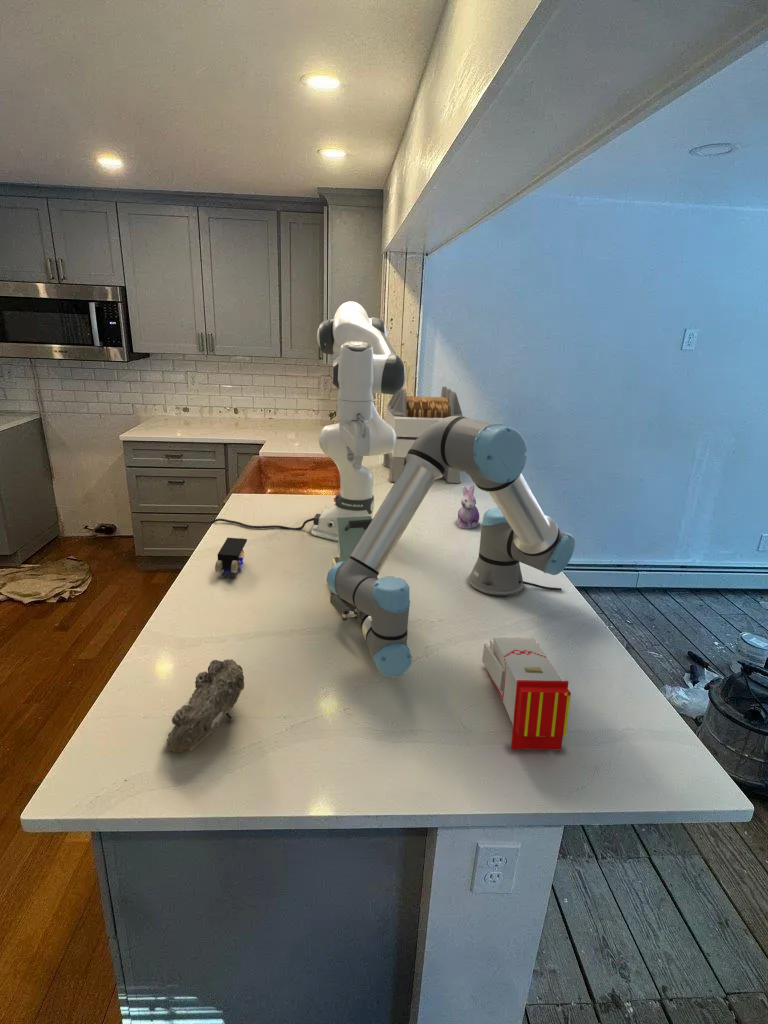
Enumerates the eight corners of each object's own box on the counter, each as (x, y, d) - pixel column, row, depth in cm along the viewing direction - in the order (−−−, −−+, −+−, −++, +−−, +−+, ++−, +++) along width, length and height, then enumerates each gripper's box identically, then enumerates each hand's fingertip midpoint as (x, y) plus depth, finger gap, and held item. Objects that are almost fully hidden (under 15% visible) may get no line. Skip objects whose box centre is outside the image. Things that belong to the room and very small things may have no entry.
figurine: (465, 531, 205) (469, 491, 200) (449, 521, 213) (452, 483, 208) (486, 527, 209) (490, 488, 204) (470, 518, 217) (473, 481, 212)
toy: (531, 620, 128) (580, 688, 99) (526, 675, 131) (572, 757, 101) (478, 619, 128) (511, 687, 98) (474, 674, 130) (505, 756, 101)
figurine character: (238, 584, 162) (249, 557, 175) (236, 562, 158) (247, 536, 172) (215, 584, 161) (227, 556, 175) (212, 561, 158) (225, 535, 171)
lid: (336, 518, 147) (342, 511, 138) (370, 516, 149) (378, 509, 141) (341, 579, 144) (347, 575, 135) (376, 576, 147) (385, 572, 138)
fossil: (192, 660, 117) (244, 628, 112) (224, 691, 120) (276, 661, 115) (142, 746, 98) (202, 712, 93) (182, 779, 101) (242, 748, 96)
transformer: (382, 463, 289) (386, 382, 275) (445, 464, 293) (451, 384, 279) (390, 482, 257) (394, 392, 243) (460, 483, 261) (468, 394, 247)
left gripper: (378, 418, 131) (376, 475, 136) (358, 403, 150) (357, 454, 154) (351, 418, 130) (350, 476, 134) (335, 403, 148) (334, 455, 153)
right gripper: (329, 645, 127) (314, 597, 147) (421, 634, 133) (395, 590, 153) (329, 615, 125) (314, 571, 145) (424, 606, 130) (396, 565, 151)
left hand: (353, 464), depth 145 cm, fingers open, 6 cm apart
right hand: (356, 581), depth 149 cm, fingers closed on chest, 9 cm apart
